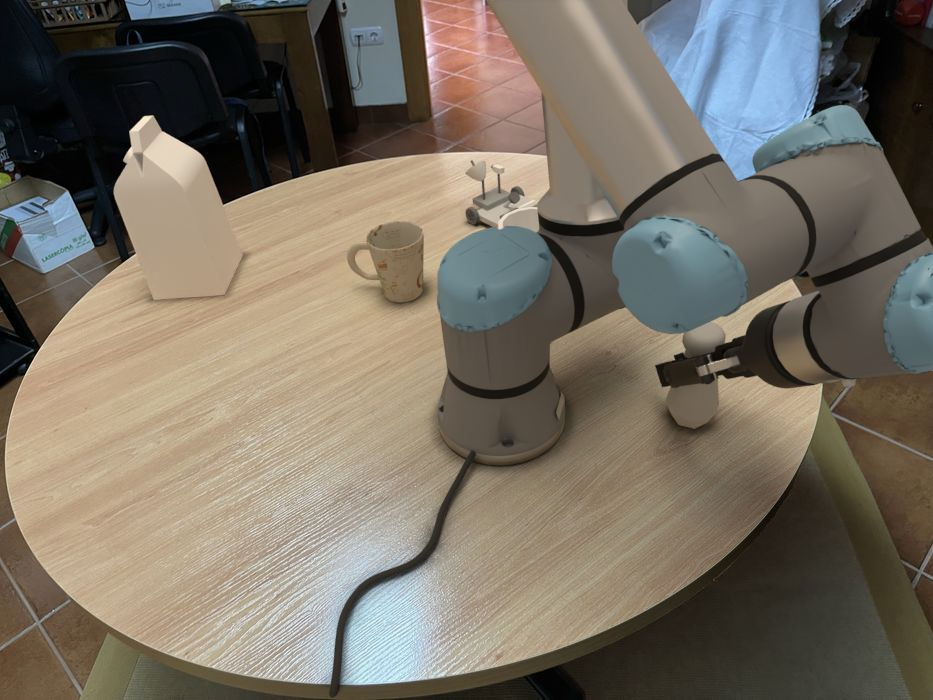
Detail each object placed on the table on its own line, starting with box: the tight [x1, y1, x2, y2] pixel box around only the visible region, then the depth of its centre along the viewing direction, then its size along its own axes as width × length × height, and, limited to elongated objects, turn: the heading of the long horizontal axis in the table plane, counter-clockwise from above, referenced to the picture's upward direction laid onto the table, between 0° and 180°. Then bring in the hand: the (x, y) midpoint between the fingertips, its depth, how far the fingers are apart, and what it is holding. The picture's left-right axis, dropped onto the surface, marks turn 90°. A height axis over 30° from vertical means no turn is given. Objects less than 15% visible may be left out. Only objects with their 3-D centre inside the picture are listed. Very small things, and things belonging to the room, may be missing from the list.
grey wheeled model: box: [465, 159, 542, 229], centre depth 118 cm, size 18×10×12 cm
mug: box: [346, 220, 425, 303], centre depth 104 cm, size 8×13×10 cm, turn 78°
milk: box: [113, 115, 244, 301], centre depth 106 cm, size 12×12×26 cm
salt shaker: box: [665, 321, 726, 430], centre depth 77 cm, size 6×6×13 cm
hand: (674, 371), depth 81 cm, fingers closed on salt shaker, 3 cm apart
